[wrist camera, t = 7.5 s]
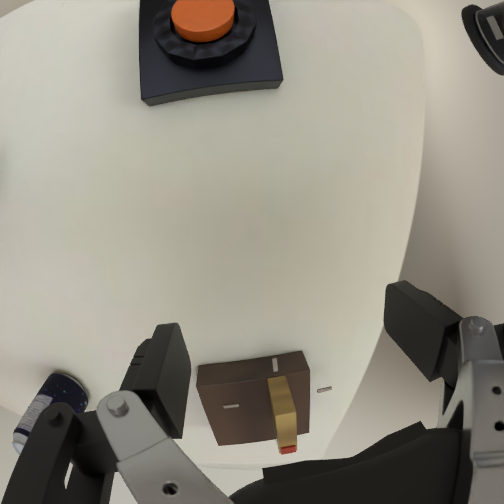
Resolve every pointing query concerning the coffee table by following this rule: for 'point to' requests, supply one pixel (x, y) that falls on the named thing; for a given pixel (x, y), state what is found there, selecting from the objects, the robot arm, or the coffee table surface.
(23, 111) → the coffee table surface
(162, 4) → the button block
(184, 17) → the button
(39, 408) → the beverage can
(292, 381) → the panel
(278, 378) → the lock knob
